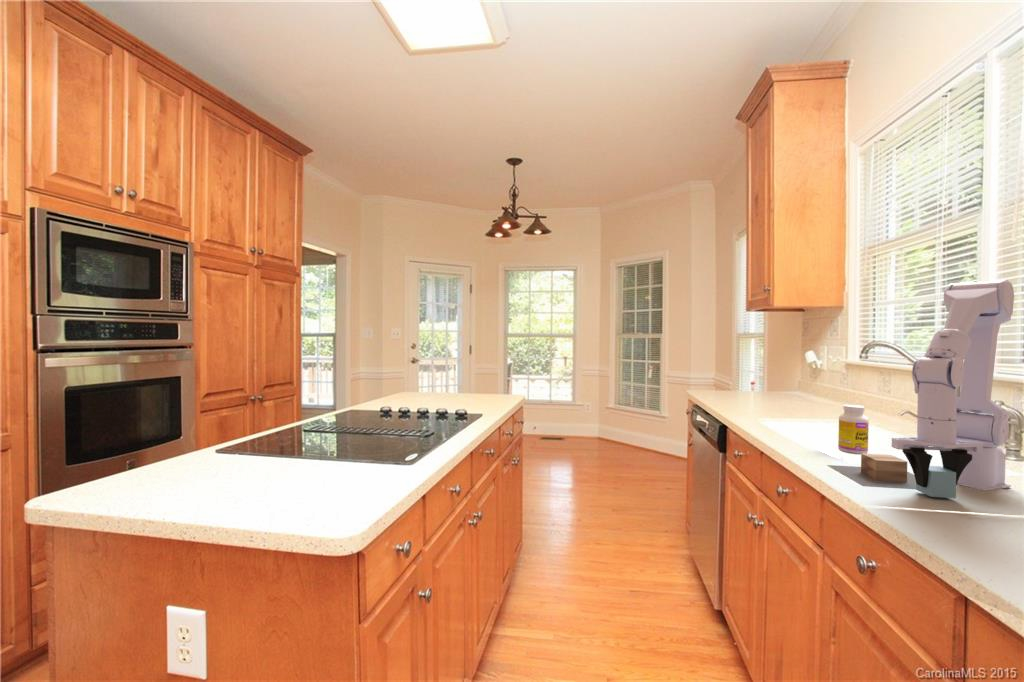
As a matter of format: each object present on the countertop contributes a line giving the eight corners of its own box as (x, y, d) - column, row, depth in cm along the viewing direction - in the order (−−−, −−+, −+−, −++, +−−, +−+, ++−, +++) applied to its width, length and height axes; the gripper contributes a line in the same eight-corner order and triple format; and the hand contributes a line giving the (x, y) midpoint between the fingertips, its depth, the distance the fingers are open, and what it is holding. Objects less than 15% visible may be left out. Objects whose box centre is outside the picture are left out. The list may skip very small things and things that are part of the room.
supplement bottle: (855, 456, 124) (856, 408, 124) (832, 450, 131) (833, 404, 130) (874, 454, 126) (875, 407, 126) (850, 448, 132) (851, 403, 132)
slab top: (861, 462, 108) (861, 453, 108) (890, 464, 107) (890, 454, 107) (876, 470, 102) (876, 460, 102) (907, 471, 101) (907, 461, 101)
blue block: (916, 489, 94) (916, 465, 94) (940, 490, 93) (940, 466, 93) (930, 496, 90) (931, 471, 90) (955, 498, 89) (956, 472, 89)
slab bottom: (860, 472, 108) (861, 462, 108) (890, 473, 107) (890, 464, 107) (876, 480, 102) (876, 470, 102) (907, 481, 101) (907, 471, 101)
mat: (826, 466, 114) (826, 465, 114) (901, 470, 111) (901, 468, 111) (863, 487, 98) (863, 485, 98) (950, 492, 95) (950, 491, 95)
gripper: (907, 420, 89) (906, 490, 89) (996, 423, 86) (995, 495, 86) (885, 414, 96) (884, 479, 96) (967, 416, 93) (966, 483, 93)
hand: (935, 486), depth 92 cm, fingers closed on blue block, 4 cm apart
